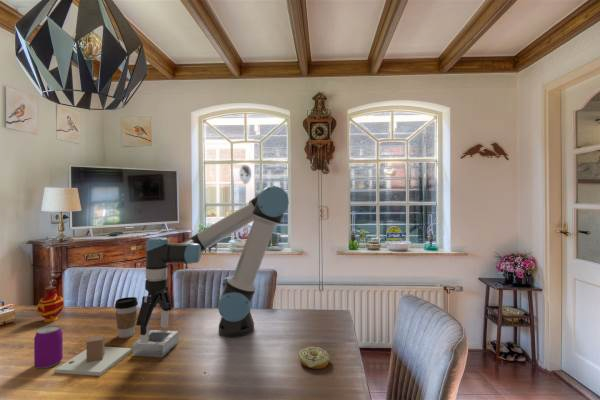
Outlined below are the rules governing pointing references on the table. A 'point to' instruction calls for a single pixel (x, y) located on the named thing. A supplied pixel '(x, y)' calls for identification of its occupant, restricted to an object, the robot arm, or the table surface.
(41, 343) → the beverage can
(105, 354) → the post board
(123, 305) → the coffee cup
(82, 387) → the table surface
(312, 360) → the decorated donut
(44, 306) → the potion bottle
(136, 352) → the square frame
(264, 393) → the table surface
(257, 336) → the table surface
